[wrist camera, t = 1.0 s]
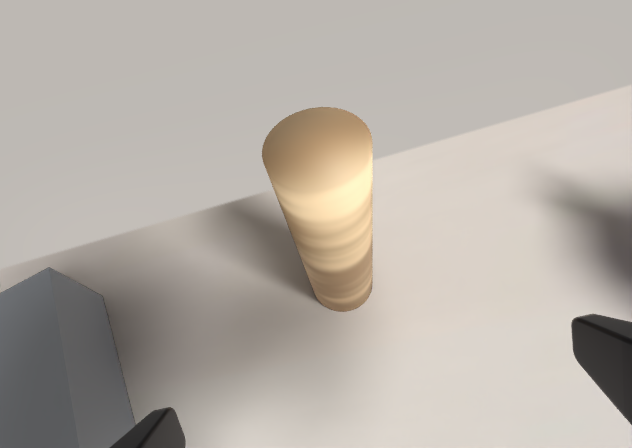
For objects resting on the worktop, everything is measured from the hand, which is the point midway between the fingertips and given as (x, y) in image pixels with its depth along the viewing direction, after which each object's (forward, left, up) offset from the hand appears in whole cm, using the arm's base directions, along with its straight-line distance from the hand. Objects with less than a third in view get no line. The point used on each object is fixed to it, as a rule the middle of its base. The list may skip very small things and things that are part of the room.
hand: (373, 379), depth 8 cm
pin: (+7, -3, -14) cm, 16 cm away
